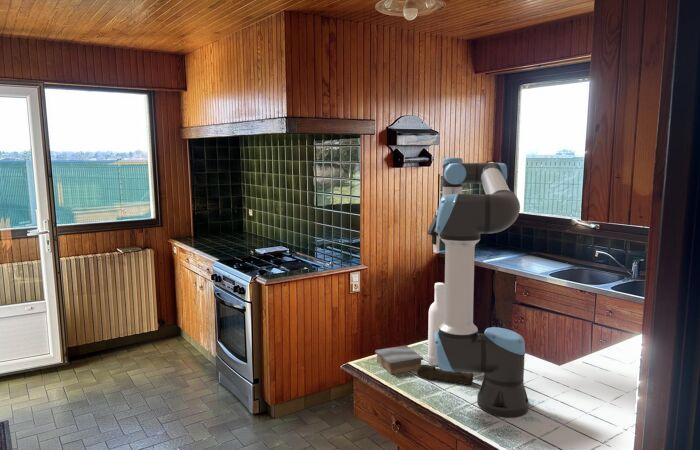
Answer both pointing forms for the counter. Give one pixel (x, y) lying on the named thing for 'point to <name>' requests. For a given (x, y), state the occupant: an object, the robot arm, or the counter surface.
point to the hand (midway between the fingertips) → (450, 251)
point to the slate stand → (398, 359)
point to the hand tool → (444, 374)
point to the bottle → (435, 321)
